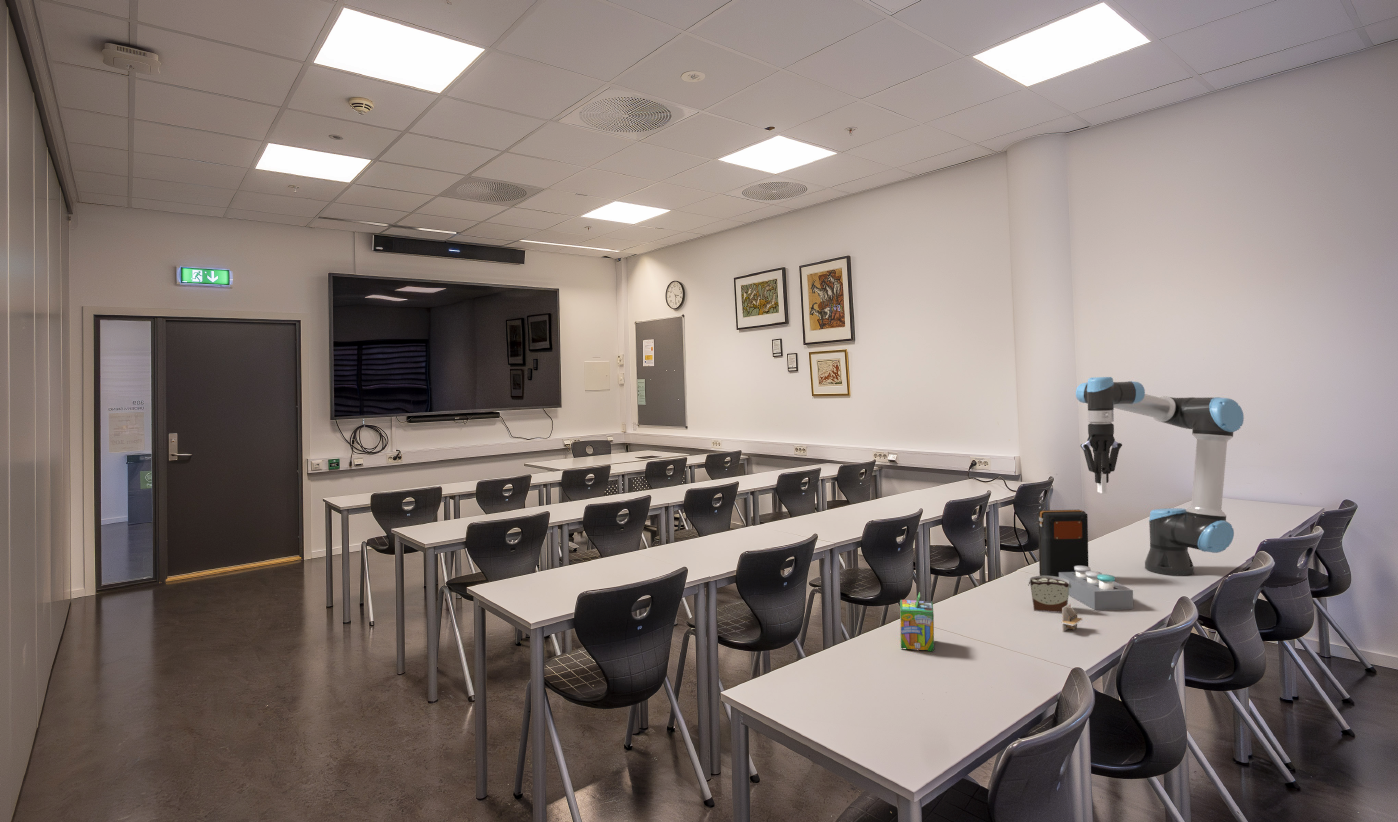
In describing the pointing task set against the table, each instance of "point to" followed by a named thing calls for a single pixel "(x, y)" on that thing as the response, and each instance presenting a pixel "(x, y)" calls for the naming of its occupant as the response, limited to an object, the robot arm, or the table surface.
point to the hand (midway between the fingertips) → (1101, 492)
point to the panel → (1098, 593)
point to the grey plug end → (1081, 570)
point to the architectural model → (1069, 618)
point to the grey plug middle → (1092, 576)
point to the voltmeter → (1062, 541)
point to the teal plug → (1106, 581)
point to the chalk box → (917, 624)
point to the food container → (1049, 593)
